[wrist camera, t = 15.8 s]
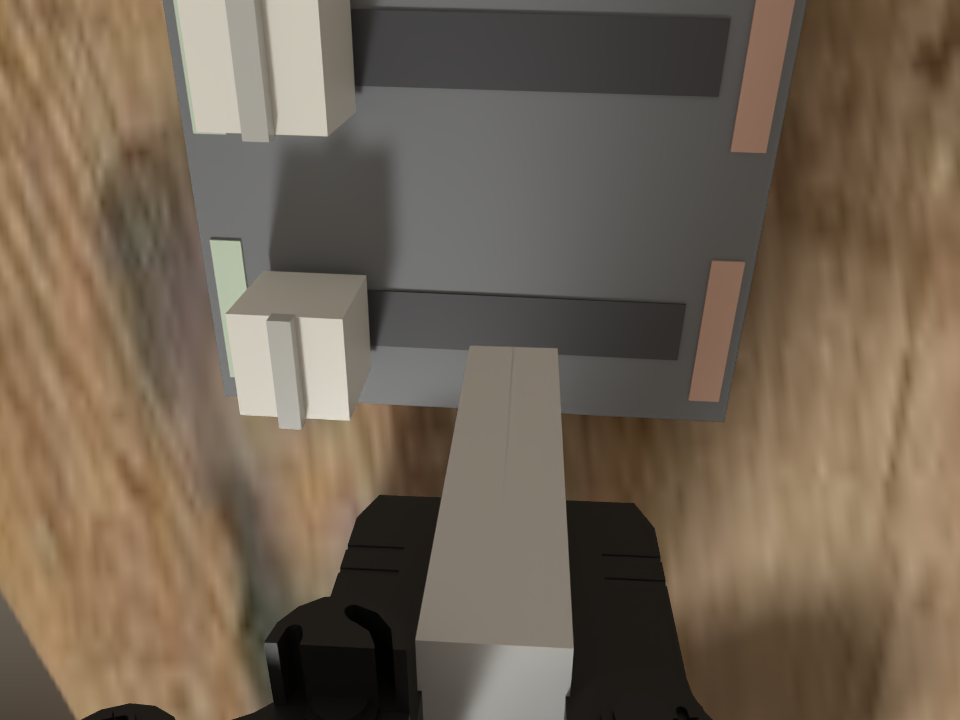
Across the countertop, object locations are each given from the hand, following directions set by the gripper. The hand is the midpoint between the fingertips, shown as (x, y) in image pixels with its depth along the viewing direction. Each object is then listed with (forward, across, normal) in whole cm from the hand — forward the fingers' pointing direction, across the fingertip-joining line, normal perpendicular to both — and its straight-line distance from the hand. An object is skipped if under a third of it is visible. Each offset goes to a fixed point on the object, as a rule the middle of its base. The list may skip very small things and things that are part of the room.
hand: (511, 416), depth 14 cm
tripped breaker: (+15, +8, -5) cm, 18 cm away
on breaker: (+16, +8, +5) cm, 18 cm away
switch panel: (+18, +2, 0) cm, 18 cm away
